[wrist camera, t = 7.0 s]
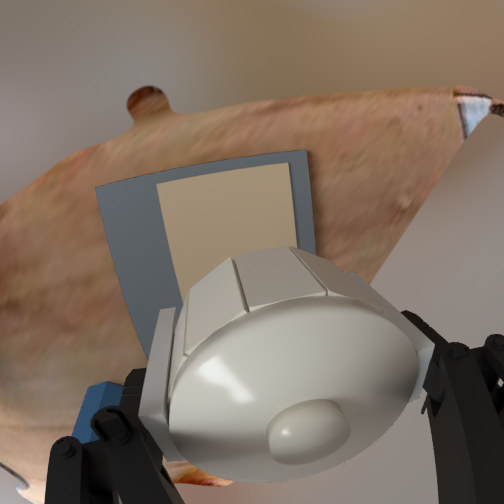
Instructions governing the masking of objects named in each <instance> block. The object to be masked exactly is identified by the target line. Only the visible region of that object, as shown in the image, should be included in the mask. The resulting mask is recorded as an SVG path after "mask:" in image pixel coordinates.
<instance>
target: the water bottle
mask: <svg viewBox="0 0 504 504" xmlns="http://www.w3.org/2000/svg"><path fill="white" fill-rule="evenodd" d="M123 389H124V387H123V386H120V385H117V384H114V383H111V382H108V381H106V382H103V383H100V384H97V385H94V386H91V387H88V390H87V393H86V395H85V398H84V401H83V404H82V406H81V409H80V412H79V415H78V418H77V421H76V424H75V427H74V430H73V433H72V437H75V438H77V439H78V440H79V441H80V442H81V443H82V444H83V443H87V442H91V441H95V440H98V439H99V437H98V436H97V435H96V434H95V432H94V431H93V430H92V428H91V427H90V421H91V419H92V417H93V415H94V414H95V413H96V412H97V411H98V410H100V409H102V408H104V407H106V406H111V405H114V406H119V404H120V400H121V397H122V392H123ZM118 495H119V494H118ZM119 504H122V502H121V499H120V497H119Z"/></svg>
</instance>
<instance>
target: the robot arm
mask: <svg viewBox="0 0 504 504" xmlns="http://www.w3.org/2000/svg"><path fill="white" fill-rule="evenodd" d="M347 275H349V276H350V277H351V278H352V279H353V280H354V281H355V282H356V283H357V284H358V285H360V286H361V287H362V288H363V289H364V290H365V291H366V292H367V293H368V294H369V295H370V296H372V297H373V298H374V299H375V300H376V301H377V302H378V303H379V304H380V305H381V306H382V307H383V308H384V309H386V311H387V312H388V314H389V316H390V318H391V320H392V322H393V323H394V324H395V325H396V326H397V327H398V328H399V329H400V330H401V331H402V332H403V333H404V334H405V335H406V336H407V337H408V338H409V340H410V342H411V343H412V345H413V346H414V349H415V352H416V355H417V362H418V373H417V379H416V384H415V387H414V390H413V393H412V395H411V398H410V400H409V401H408V403H409V402H412V401H414V400H416V399H418V398H419V397H420V394H421V391H422V388H424V389H425V391H426V392H427V393H428V394H427V396H426V400H425V402H424V405H423V407H422V410H421V414H424V412H425V409H426V407H427V411H428V412H427V413H428V417H429V422H430V427H431V434H432V441H433V447H434V455H435V464H436V472H437V484H438V498H439V504H504V383H503V386H502V387H500V386H499V385H498V384H497V383H498V381H499V379H500V378H501V379H502V381H503V382H504V336H503V335H500V334H493V335H490V336H489V337H487V339H486V341H485V344H484V346H483V347H478V348H473V349H469V347H468V346H466V345H464V344H462V343H459V342H451V343H448V342H447V341H446V340H445V339H444V338H443V337H441V336H440V335H439V334H438V333H437V332H436V331H435V330H434V329H433V328H431V327H429V325H428V324H427V323H426V322H423V320H422V319H421V318H420V317H419V316H417V315H416V314H414V313H412V312H409V311H407V310H405V311H402V312H399V311H398V310H397V309H396V308H395V307H393V306H392V305H391V304H390V303H389V302H388V301H387V300H386V299H384V298H383V297H382V296H381V295H380V294H379V293H378V292H376V291H375V290H374V289H373V288H372V287H371V286H370V285H369V284H367V283H366V282H365V281H364V280H363V279H362V278H360V277H359V276H358V275H357V274H356V273H355V272H352V273H348V274H347ZM178 319H179V317H178V314H177V310H176V307H173V308H166V309H160V312H159V316H158V321H157V325H156V329H155V334H154V338H153V342H152V347H151V352H150V356H149V361H148V366H147V368H141V369H133V370H132V371H131V372H130V374H129V375H128V376H127V377H126V380H125V384H124V389H123V392H122V397H121V400H120V404H119V406H114V405H111V406H106V407H104V408H102V409H100V410H98V411H97V412H96V413H95V414H94V415H93V417H92V419H91V421H90V427H91V428H92V430H93V431H94V432H95V434H96V435H97V436H98V437H99V439H98V440H95V441H91V442H87V443H83V444H82V443H81V442H80V441H79V440H78V439H77V438H75V437H72V436H66V437H62V438H60V439H59V440H57V441H56V442H55V443H54V444H53V445H52V448H51V451H50V457H49V464H48V472H47V481H46V491H45V504H119V497H120V499H121V502H122V504H185V503H184V501H183V500H182V498H181V496H180V494H179V493H178V491H177V489H176V487H175V486H174V484H173V482H172V480H171V478H170V476H169V474H168V472H167V470H166V469H165V467H164V466H163V465H162V459H163V455H164V457H165V458H166V460H167V461H184V460H186V459H185V458H184V457H183V456H182V455H181V453H180V452H179V451H178V449H177V448H176V446H175V444H174V442H173V440H172V438H171V434H170V429H169V415H170V409H169V407H168V405H167V404H168V402H167V393H168V383H169V373H170V364H171V355H172V346H173V338H174V332H175V329H176V325H177V322H178ZM118 494H119V495H118Z"/></svg>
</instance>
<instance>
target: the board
mask: <svg viewBox="0 0 504 504" xmlns="http://www.w3.org/2000/svg"><path fill="white" fill-rule="evenodd" d="M95 189H96V194H97V199H98V204H99V208H100V213H101V217H102V221H103V225H104V229H105V233H106V237H107V241H108V245H109V249H110V252H111V256H112V259H113V263H114V266H115V270H116V273H117V276H118V279H119V283H120V286H121V289H122V292H123V295H124V298H125V301H126V304H127V307H128V310H129V313H130V316H131V318H132V321H133V324H134V327H135V329H136V332H137V335H138V337H139V340H140V342H141V345H142V347H143V350H144V352H145V355H146V357H147V360H148V361H149V356H150V352H151V347H152V342H153V338H154V334H155V329H156V325H157V321H158V316H159V312H160V309H166V308H173V307H176V310H177V314H178V317H179V316H180V313H181V310H182V307H183V305H184V302H185V299H186V296H187V293H188V292H190V288H191V287H193V286H194V285H195V284H196V283H198V282H199V281H200V280H201V279H203V278H204V277H205V276H206V275H208V274H209V273H210V272H211V271H213V270H214V269H215V268H216V267H218V266H219V265H220V264H221V263H223V262H224V261H225V260H226V259H228V258H229V257H231V258H232V259H233V260H234V255H235V254H241V253H246V252H252V251H258V250H263V249H269V248H274V247H280V246H285V245H286V246H287V247H288V248H289V246H292V247H295V248H297V249H300V250H303V251H306V252H308V253H311V254H314V255H316V248H315V234H314V221H313V209H312V198H311V188H310V178H309V168H308V160H307V151H306V150H297V151H288V152H279V153H270V154H262V155H254V156H247V157H240V158H233V159H227V160H221V161H214V162H208V163H203V164H197V165H192V166H186V167H181V168H176V169H171V170H166V171H161V172H157V173H152V174H147V175H143V176H138V177H134V178H130V179H126V180H122V181H118V182H114V183H110V184H106V185H102V186H99V187H96V188H95ZM234 261H235V260H234Z"/></svg>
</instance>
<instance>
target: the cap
mask: <svg viewBox="0 0 504 504" xmlns="http://www.w3.org/2000/svg"><path fill="white" fill-rule="evenodd" d="M234 260H235V261H234ZM234 260H233V259H232V258H231V257H229V258H228V259H226V260H225V261H224V262H223V263H221V264H220V265H219V266H218V267H216V268H215V269H214V270H213V271H211V272H210V273H209V274H208V275H206V276H205V277H204V278H203V279H201V280H200V281H199V282H198V283H196V284H195V285H194V286H193V287H191V288H190V292H188V293H187V296H186V299H185V302H184V305H183V307H182V310H181V313H180V316H179V319H178V322H177V325H176V329H175V332H174V338H173V346H172V355H171V364H170V373H169V383H168V393H167V402H168V404H167V405H168V407H169V409H170V415H169V429H170V434H171V438H172V440H173V442H174V444H175V446H176V448H177V449H178V451H179V452H180V453H181V455H182V456H183V457H184V458H185V459H186V460H188V461H189V462H190V463H191V464H193V465H194V466H196V467H197V468H199V469H201V470H203V471H205V472H207V473H209V474H211V475H214V476H217V477H220V478H223V479H227V480H232V481H238V482H246V483H275V482H283V481H290V480H295V479H299V478H304V477H307V476H311V475H314V474H318V473H320V472H323V471H325V470H328V469H331V468H333V467H335V466H337V465H339V464H342V463H343V462H345V461H347V460H349V459H351V458H352V457H354V456H356V455H357V454H359V453H360V452H362V451H363V450H365V449H366V448H367V447H369V446H370V445H372V444H373V443H374V442H375V441H376V440H378V439H379V438H380V437H381V436H382V435H383V434H384V433H385V432H386V431H387V430H388V429H389V428H390V427H391V426H392V425H393V424H394V422H395V421H396V420H397V419H398V417H399V416H400V415H401V413H402V412H403V410H404V408H405V407H406V405H407V403H408V401H409V400H410V398H411V395H412V393H413V390H414V387H415V384H416V379H417V373H418V362H417V355H416V352H415V349H414V346H413V345H412V343H411V342H410V340H409V338H408V337H407V336H406V335H405V334H404V333H403V332H402V331H401V330H400V329H399V328H398V327H397V326H396V325H395V324H394V323H393V322H392V320H391V318H390V316H389V314H388V312H387V311H386V309H384V308H383V307H382V306H381V305H380V304H379V303H378V302H377V301H376V300H375V299H374V298H373V297H372V296H370V295H369V294H368V293H367V292H366V291H365V290H364V289H363V288H362V287H361V286H360V285H358V284H357V283H356V282H355V281H354V280H353V279H352V278H351V277H350V276H349V275H347V274H346V273H345V272H344V271H343V270H342V269H341V268H340V267H338V266H337V265H336V264H335V263H334V262H332V261H330V260H327V259H324V258H322V257H319V256H316V255H314V254H311V253H308V252H306V251H303V250H300V249H297V248H295V247H292V246H289V248H288V247H287V246H286V245H285V246H280V247H274V248H269V249H263V250H258V251H252V252H246V253H241V254H235V255H234Z"/></svg>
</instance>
